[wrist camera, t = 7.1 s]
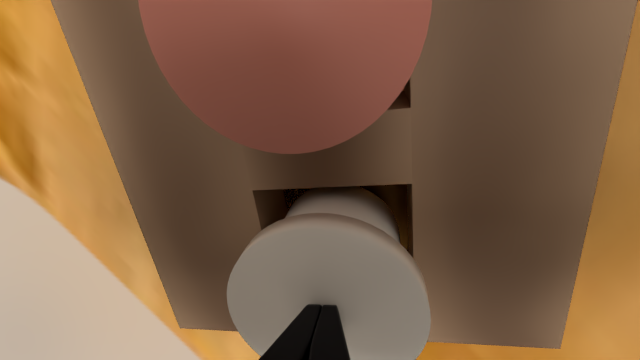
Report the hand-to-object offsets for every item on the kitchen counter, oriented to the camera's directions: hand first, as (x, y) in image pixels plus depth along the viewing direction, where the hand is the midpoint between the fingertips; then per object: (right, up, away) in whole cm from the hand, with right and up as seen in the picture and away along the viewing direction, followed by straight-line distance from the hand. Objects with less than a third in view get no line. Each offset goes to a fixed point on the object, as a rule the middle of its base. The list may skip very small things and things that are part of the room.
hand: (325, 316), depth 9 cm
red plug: (0, +8, +1) cm, 8 cm away
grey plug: (+1, +2, +4) cm, 4 cm away
